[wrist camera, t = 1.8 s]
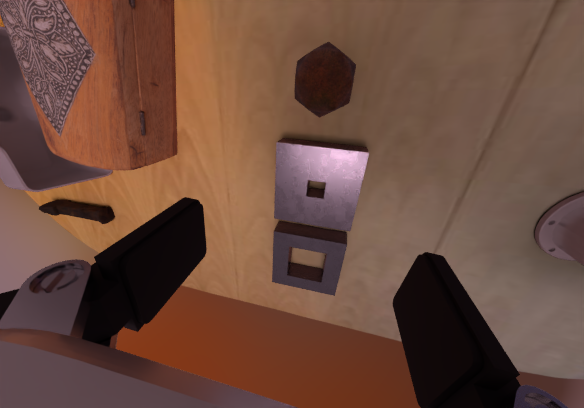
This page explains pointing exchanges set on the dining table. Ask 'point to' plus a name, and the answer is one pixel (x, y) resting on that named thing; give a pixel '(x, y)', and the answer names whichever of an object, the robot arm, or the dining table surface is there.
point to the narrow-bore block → (323, 168)
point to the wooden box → (99, 77)
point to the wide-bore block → (313, 241)
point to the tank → (29, 136)
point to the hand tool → (78, 210)
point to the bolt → (324, 79)
